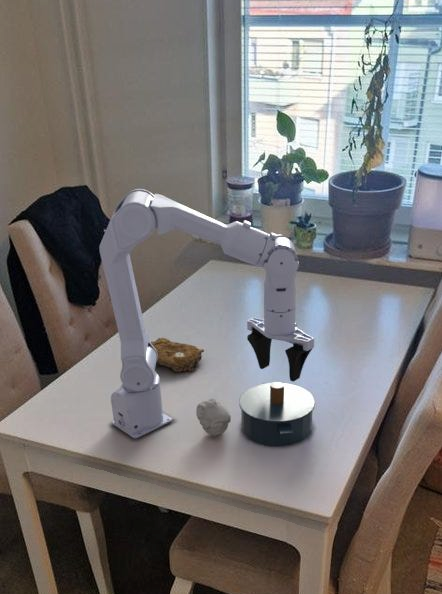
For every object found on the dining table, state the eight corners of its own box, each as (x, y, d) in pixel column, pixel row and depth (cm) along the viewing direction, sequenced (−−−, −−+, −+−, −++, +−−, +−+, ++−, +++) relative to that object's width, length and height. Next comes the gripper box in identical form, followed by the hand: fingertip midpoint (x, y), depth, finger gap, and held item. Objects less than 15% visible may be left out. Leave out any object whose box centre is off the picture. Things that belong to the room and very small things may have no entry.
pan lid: (305, 384, 136) (305, 364, 133) (322, 422, 124) (324, 400, 121) (234, 390, 134) (233, 370, 132) (245, 429, 122) (245, 408, 120)
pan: (299, 400, 140) (300, 376, 137) (321, 451, 125) (323, 426, 122) (235, 405, 139) (235, 382, 136) (250, 458, 123) (250, 433, 120)
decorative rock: (130, 365, 156) (185, 381, 150) (128, 350, 154) (184, 365, 148) (157, 343, 164) (210, 358, 158) (155, 328, 161) (210, 342, 155)
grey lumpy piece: (209, 420, 134) (207, 390, 131) (238, 431, 131) (237, 400, 127) (190, 435, 130) (188, 404, 127) (220, 446, 127) (219, 414, 123)
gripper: (325, 309, 120) (322, 376, 127) (264, 290, 128) (264, 354, 136) (300, 322, 115) (299, 391, 123) (238, 301, 124) (240, 367, 132)
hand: (279, 373), depth 129 cm, fingers open, 7 cm apart
